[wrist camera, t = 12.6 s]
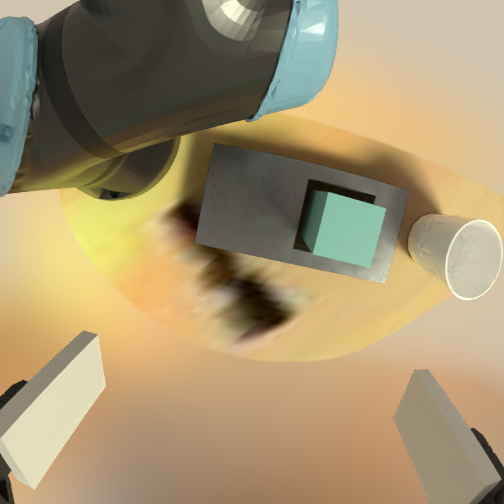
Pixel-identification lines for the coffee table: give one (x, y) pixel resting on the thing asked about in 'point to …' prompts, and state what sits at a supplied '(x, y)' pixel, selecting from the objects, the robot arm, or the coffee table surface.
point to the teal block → (342, 227)
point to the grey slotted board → (285, 209)
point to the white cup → (457, 252)
